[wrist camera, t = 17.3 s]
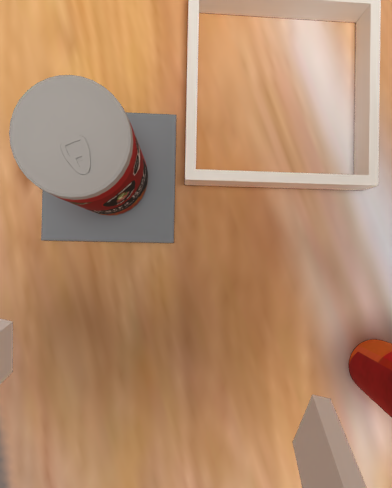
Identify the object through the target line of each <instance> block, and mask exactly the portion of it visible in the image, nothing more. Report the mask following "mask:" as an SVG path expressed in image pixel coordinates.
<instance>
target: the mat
mask: <svg viewBox="0 0 392 488" xmlns="http://www.w3.org/2000/svg"><path fill="white" fill-rule="evenodd" d="M126 115H127V117H128V118H129V121H130V123H131V125H132V128H133V130H134V133H135V136H136V138H137V141H138V144H139V146H140V149H141V152H142V154H143V157H144V159H145V162H146V166H147V170H148V183H147V187H146V191H145V193H144V195H143V197H142V199H141V200H140V201H139V202H138V204H137V205H135V206H134V207H133V208H132V209H130V210H128V211H127V212H125V213H122V214H118V215H101V214H98V213H95V212H92V211H90V210H87V209H85V208H82V207H80V206H77V205H75V204H72V203H70V202H67V201H65V200H62V199H60V198H57V197H56V196H53V195H51V194H49V193H47V192H46V191H44V190H43V196H42V235H41V240H56V241H105V242H154V243H174V203H175V154H176V115H169V114H147V113H126Z"/></svg>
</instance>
